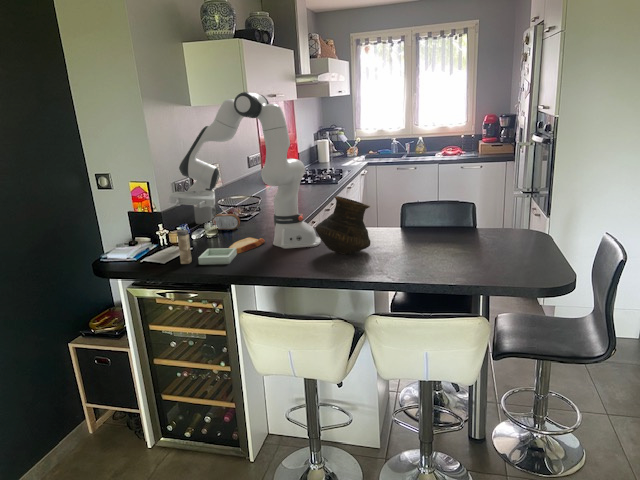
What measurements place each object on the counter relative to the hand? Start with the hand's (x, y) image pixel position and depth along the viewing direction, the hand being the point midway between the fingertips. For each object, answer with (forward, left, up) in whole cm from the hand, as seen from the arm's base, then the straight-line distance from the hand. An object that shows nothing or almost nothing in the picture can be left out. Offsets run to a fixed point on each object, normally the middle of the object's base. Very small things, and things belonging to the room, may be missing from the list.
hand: (188, 204), depth 213 cm
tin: (-3, -44, -23) cm, 50 cm away
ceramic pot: (-68, +5, -23) cm, 72 cm away
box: (-14, +9, -22) cm, 28 cm away
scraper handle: (-1, +13, -22) cm, 26 cm away
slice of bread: (-22, -9, -23) cm, 33 cm away
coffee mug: (+14, -64, -23) cm, 69 cm away
